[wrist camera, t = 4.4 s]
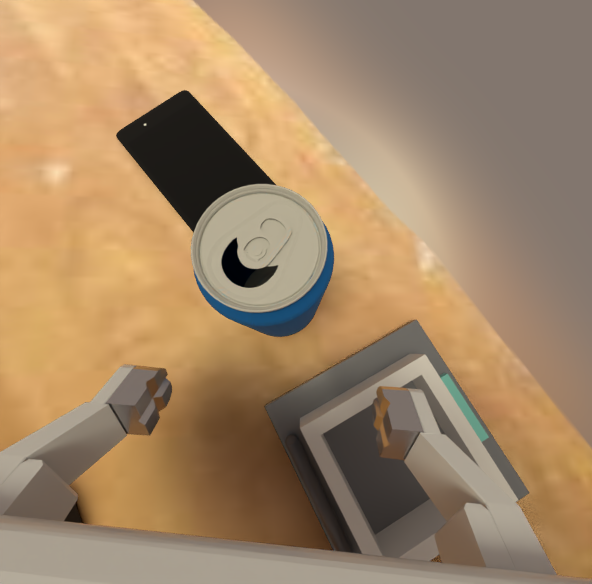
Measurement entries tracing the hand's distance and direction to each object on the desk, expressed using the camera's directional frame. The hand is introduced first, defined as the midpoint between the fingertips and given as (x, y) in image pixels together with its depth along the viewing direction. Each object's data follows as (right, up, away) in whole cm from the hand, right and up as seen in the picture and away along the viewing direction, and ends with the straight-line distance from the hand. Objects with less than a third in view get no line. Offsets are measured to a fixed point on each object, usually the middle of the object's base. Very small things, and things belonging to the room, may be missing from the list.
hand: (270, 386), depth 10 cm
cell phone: (-8, +16, +16) cm, 24 cm away
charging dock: (+8, -8, +10) cm, 15 cm away
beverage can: (0, +3, +12) cm, 13 cm away
